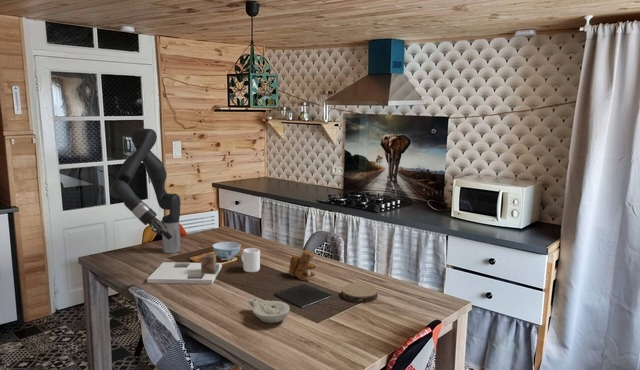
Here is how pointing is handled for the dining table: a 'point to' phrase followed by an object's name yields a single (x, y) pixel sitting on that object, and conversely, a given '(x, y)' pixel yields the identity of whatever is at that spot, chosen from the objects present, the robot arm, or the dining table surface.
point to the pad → (210, 273)
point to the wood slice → (359, 292)
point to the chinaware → (226, 249)
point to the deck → (182, 273)
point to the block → (208, 263)
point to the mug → (251, 259)
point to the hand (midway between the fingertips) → (170, 238)
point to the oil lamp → (269, 310)
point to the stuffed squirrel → (302, 266)
